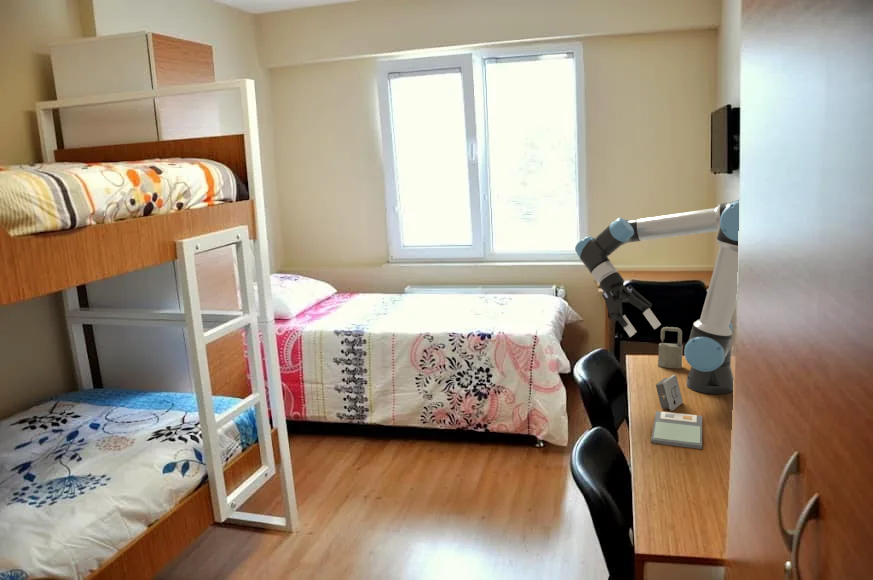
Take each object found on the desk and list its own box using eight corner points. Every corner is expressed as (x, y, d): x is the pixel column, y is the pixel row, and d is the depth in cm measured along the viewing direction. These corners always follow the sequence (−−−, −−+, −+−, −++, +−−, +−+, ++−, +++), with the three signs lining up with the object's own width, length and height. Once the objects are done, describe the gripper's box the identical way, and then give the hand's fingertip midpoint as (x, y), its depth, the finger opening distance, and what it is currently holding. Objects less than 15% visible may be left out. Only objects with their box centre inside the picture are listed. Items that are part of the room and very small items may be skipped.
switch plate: (656, 414, 204) (656, 409, 204) (701, 419, 200) (702, 414, 199) (650, 442, 184) (651, 437, 184) (701, 449, 180) (702, 444, 179)
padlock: (658, 363, 253) (660, 325, 250) (681, 366, 250) (683, 326, 247) (657, 366, 250) (659, 327, 247) (681, 369, 246) (682, 329, 243)
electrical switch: (672, 412, 206) (671, 382, 205) (656, 410, 209) (654, 381, 208) (683, 403, 213) (681, 374, 212) (667, 401, 216) (665, 373, 215)
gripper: (623, 280, 232) (659, 330, 224) (577, 289, 217) (615, 344, 208) (637, 266, 227) (675, 317, 219) (591, 275, 212) (630, 331, 203)
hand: (645, 330), depth 214 cm, fingers open, 13 cm apart
